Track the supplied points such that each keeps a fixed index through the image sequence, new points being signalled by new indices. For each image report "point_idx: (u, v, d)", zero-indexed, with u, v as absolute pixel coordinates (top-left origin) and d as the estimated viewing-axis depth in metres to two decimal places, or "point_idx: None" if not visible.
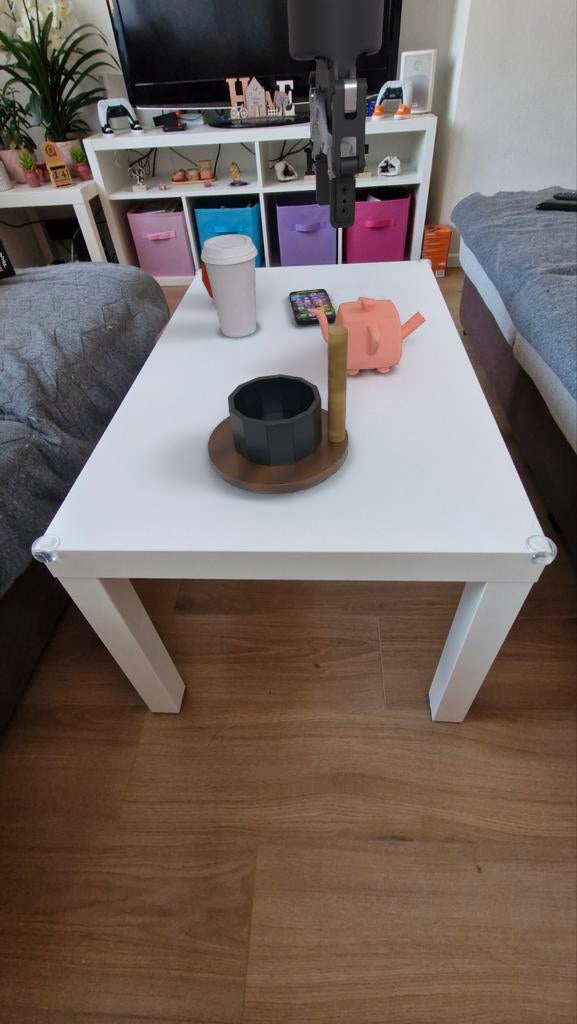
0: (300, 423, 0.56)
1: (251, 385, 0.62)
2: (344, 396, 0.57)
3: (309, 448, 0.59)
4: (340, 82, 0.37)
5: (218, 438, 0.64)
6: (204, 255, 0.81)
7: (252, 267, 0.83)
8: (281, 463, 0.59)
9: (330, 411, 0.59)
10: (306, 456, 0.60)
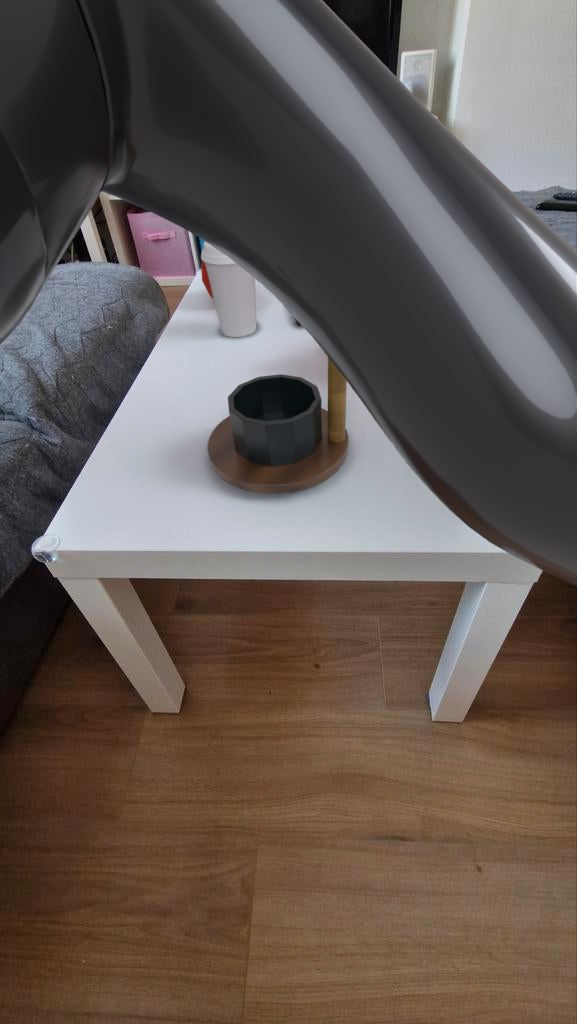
0: (300, 423, 0.56)
1: (251, 385, 0.62)
2: (344, 396, 0.57)
3: (309, 448, 0.59)
4: None
5: (218, 438, 0.64)
6: (204, 255, 0.81)
7: None
8: (281, 463, 0.59)
9: (330, 411, 0.59)
10: (306, 456, 0.60)
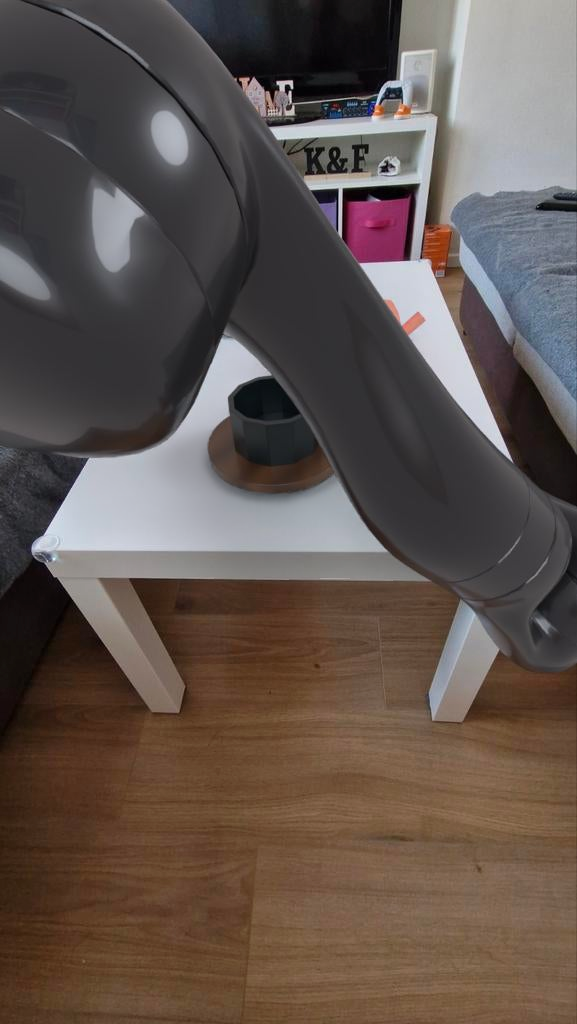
0: (300, 423, 0.56)
1: (251, 385, 0.62)
2: None
3: (309, 448, 0.59)
4: None
5: (218, 438, 0.64)
6: None
7: None
8: (281, 463, 0.59)
9: None
10: (306, 456, 0.60)
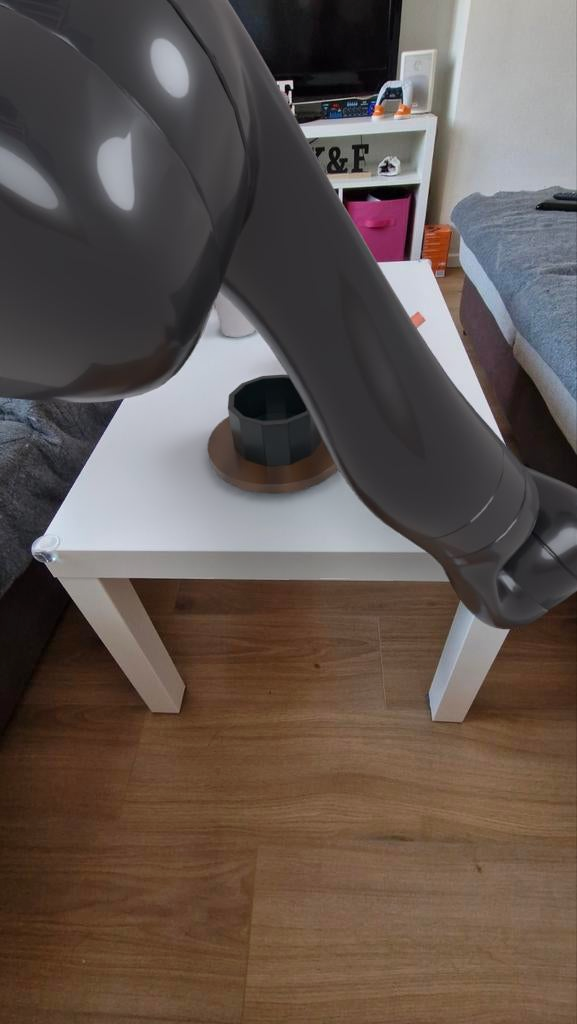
0: None
1: (240, 392, 0.61)
2: None
3: (319, 438, 0.61)
4: None
5: (219, 453, 0.61)
6: None
7: None
8: (300, 458, 0.59)
9: None
10: (317, 446, 0.61)
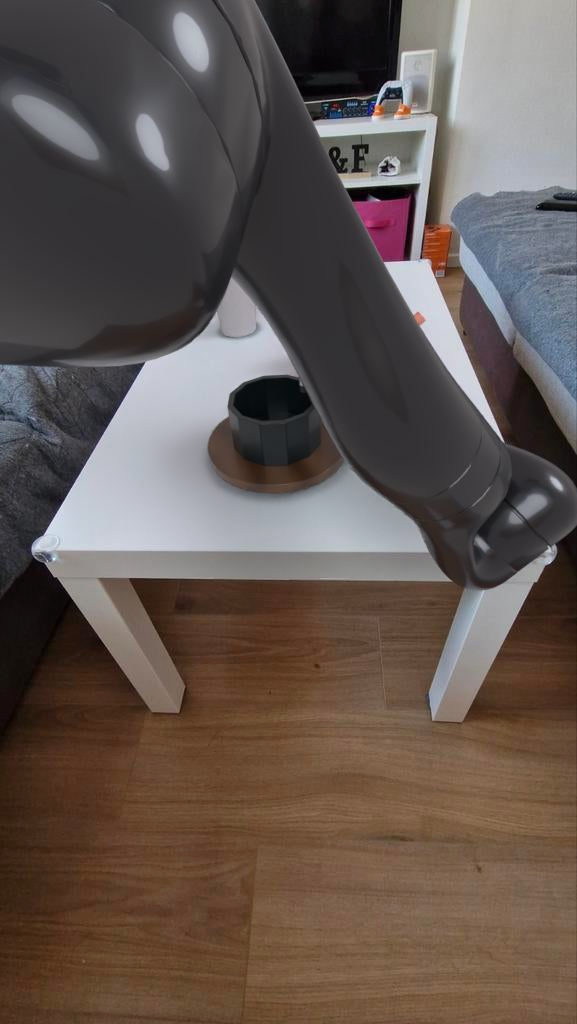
0: None
1: (234, 401, 0.59)
2: None
3: None
4: None
5: (233, 468, 0.59)
6: None
7: None
8: (315, 448, 0.60)
9: None
10: None
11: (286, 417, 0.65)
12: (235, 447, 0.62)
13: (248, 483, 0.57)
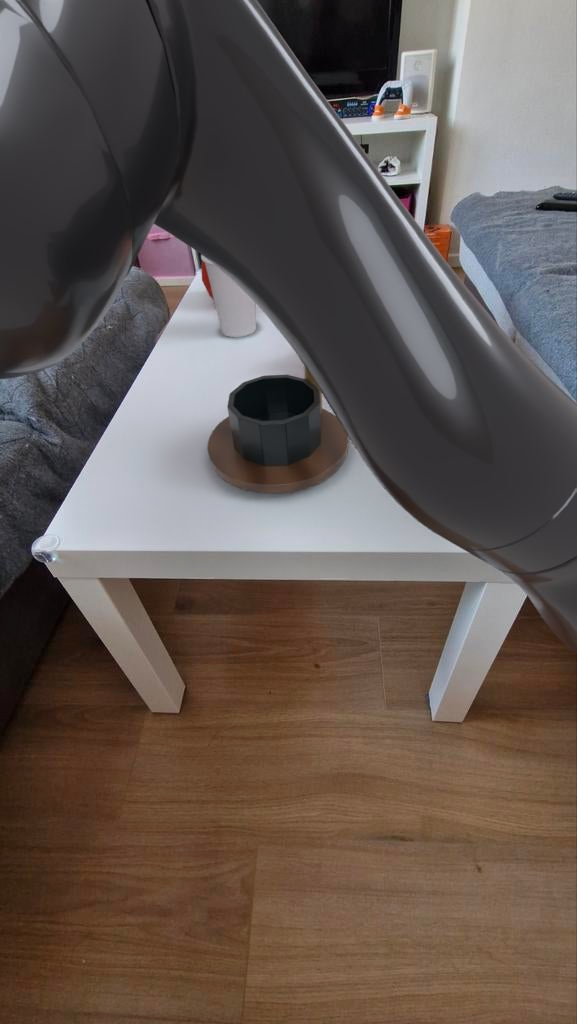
0: None
1: (234, 401, 0.59)
2: None
3: None
4: None
5: (233, 468, 0.59)
6: None
7: None
8: (315, 448, 0.60)
9: None
10: None
11: (286, 417, 0.65)
12: (235, 447, 0.62)
13: (248, 483, 0.57)
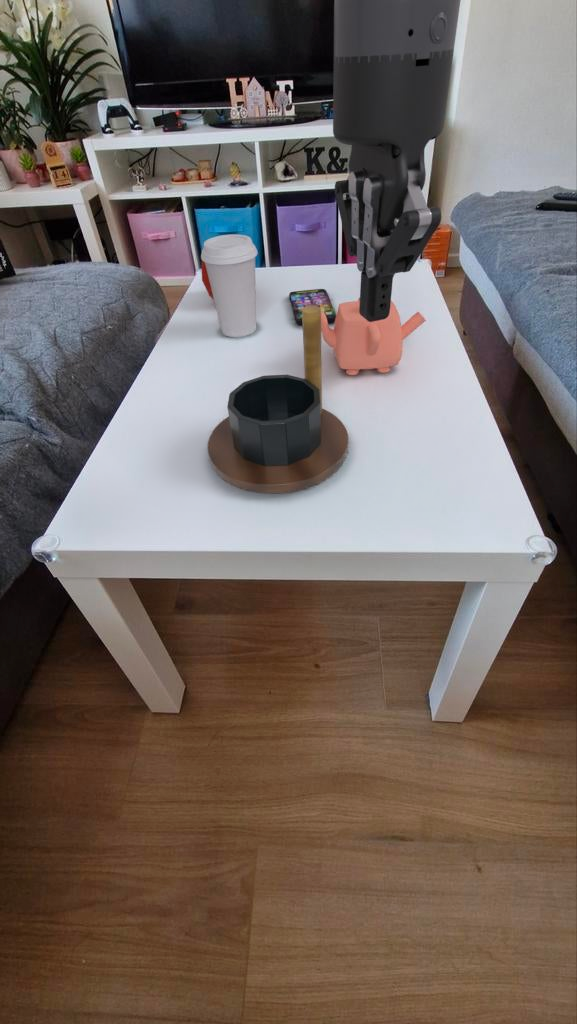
0: None
1: (234, 401, 0.59)
2: None
3: None
4: (415, 221, 0.33)
5: (233, 468, 0.59)
6: (204, 255, 0.81)
7: (252, 267, 0.83)
8: (315, 448, 0.60)
9: None
10: None
11: (286, 417, 0.65)
12: (235, 447, 0.62)
13: (248, 483, 0.57)
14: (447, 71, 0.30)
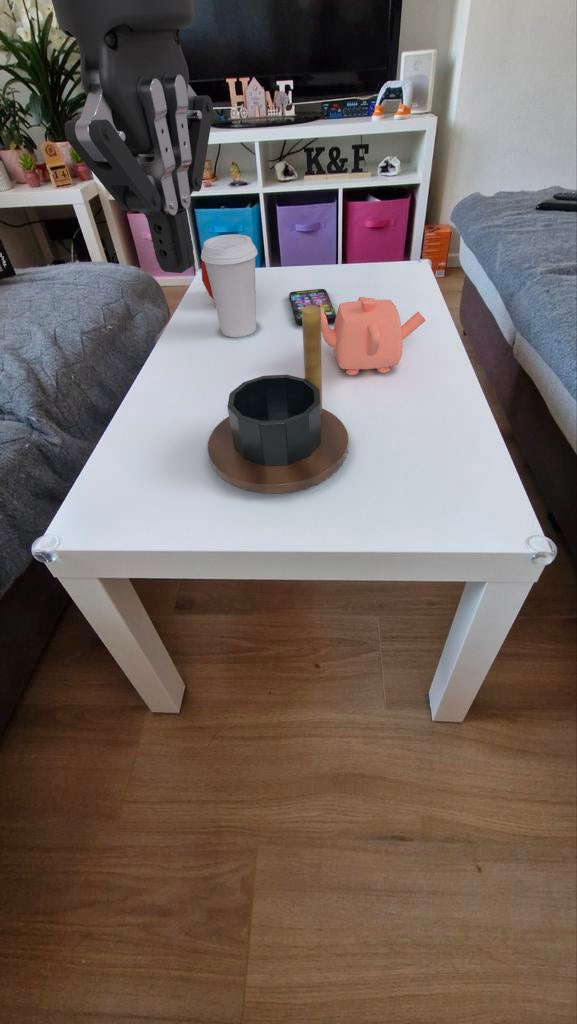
0: None
1: (234, 401, 0.59)
2: None
3: None
4: (71, 133, 0.27)
5: (233, 468, 0.59)
6: (204, 255, 0.81)
7: (252, 267, 0.83)
8: (315, 448, 0.60)
9: None
10: None
11: (286, 417, 0.65)
12: (235, 447, 0.62)
13: (248, 483, 0.57)
14: None
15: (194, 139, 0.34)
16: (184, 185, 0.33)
